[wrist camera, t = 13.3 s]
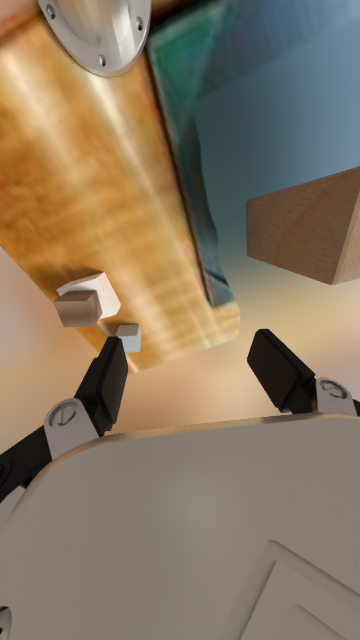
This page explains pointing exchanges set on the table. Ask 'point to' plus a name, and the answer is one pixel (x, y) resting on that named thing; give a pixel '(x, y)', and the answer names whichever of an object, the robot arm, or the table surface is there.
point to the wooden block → (309, 228)
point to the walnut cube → (79, 308)
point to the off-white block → (104, 291)
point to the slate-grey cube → (130, 337)
